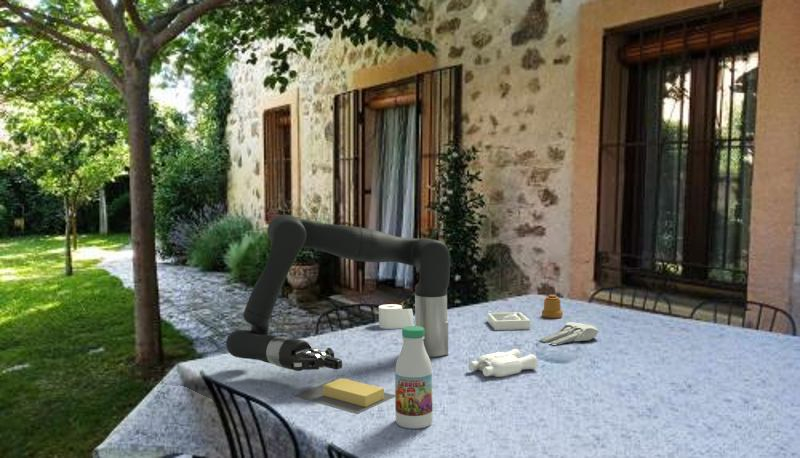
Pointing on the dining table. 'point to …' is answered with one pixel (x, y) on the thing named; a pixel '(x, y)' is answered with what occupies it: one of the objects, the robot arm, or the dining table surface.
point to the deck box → (353, 392)
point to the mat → (317, 396)
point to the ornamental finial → (552, 307)
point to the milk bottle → (413, 381)
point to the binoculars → (503, 363)
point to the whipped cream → (512, 317)
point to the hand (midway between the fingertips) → (339, 364)
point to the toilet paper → (394, 316)
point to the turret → (572, 333)
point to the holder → (508, 321)
